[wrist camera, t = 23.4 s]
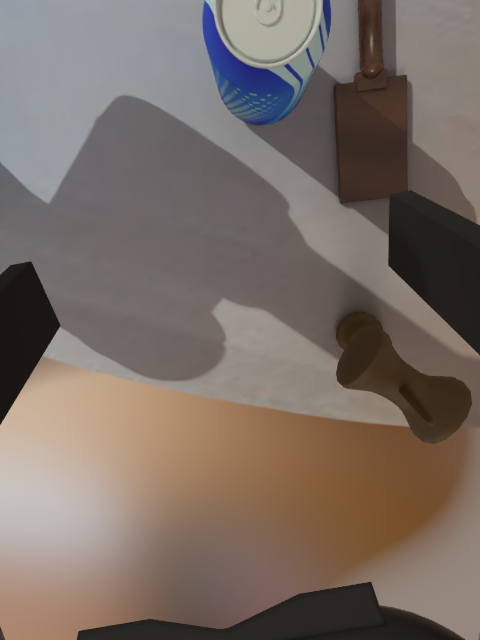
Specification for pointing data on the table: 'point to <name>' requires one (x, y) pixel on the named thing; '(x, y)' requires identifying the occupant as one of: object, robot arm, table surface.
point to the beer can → (264, 53)
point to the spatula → (371, 120)
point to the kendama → (399, 380)
